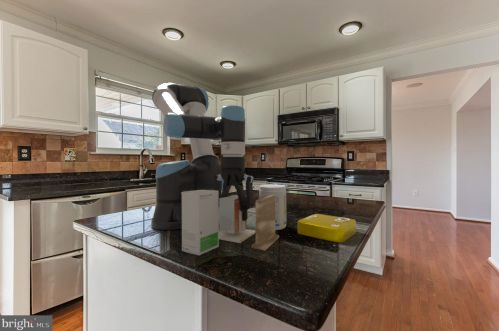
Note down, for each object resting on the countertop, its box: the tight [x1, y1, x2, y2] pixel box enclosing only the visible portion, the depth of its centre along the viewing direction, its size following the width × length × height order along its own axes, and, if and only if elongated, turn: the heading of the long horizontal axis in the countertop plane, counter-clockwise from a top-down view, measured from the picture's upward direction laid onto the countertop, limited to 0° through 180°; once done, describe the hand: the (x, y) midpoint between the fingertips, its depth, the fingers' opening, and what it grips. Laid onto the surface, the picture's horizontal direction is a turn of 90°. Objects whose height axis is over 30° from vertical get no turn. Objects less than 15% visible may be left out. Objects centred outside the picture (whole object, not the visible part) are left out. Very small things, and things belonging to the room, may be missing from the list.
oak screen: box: [250, 195, 280, 251], centre depth 69 cm, size 4×11×13 cm, turn 154°
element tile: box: [296, 213, 357, 243], centre depth 79 cm, size 15×15×5 cm
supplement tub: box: [258, 183, 287, 231], centre depth 85 cm, size 10×10×15 cm
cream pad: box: [219, 228, 256, 244], centre depth 76 cm, size 11×11×1 cm
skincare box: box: [181, 190, 220, 256], centre depth 64 cm, size 8×7×16 cm
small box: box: [219, 194, 248, 234], centre depth 76 cm, size 8×6×10 cm
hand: (233, 229), depth 76 cm, fingers closed on small box, 6 cm apart
